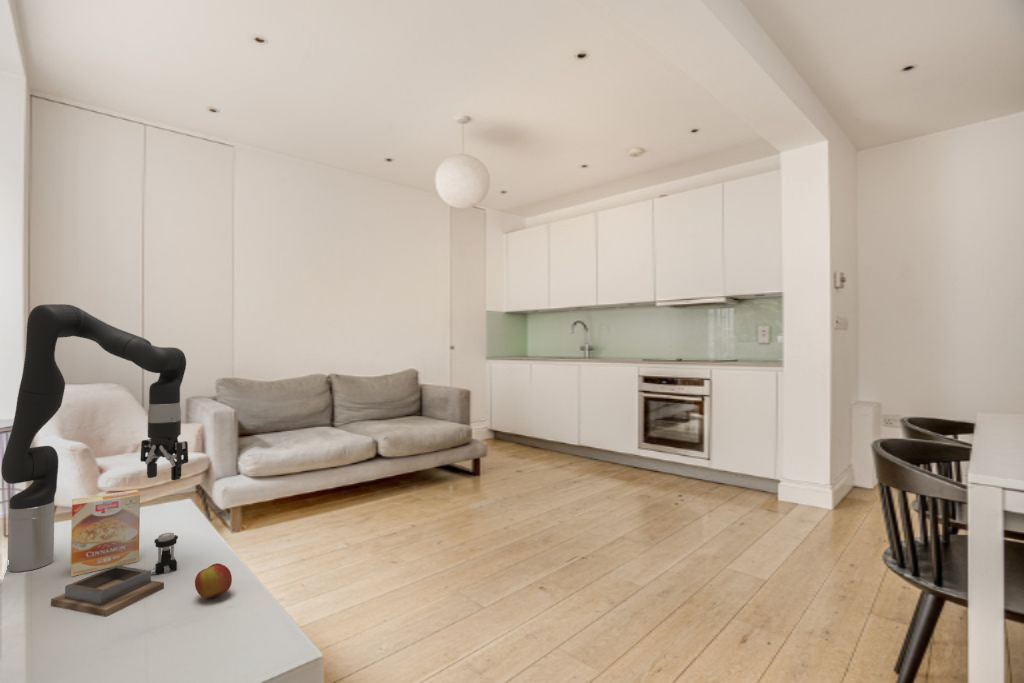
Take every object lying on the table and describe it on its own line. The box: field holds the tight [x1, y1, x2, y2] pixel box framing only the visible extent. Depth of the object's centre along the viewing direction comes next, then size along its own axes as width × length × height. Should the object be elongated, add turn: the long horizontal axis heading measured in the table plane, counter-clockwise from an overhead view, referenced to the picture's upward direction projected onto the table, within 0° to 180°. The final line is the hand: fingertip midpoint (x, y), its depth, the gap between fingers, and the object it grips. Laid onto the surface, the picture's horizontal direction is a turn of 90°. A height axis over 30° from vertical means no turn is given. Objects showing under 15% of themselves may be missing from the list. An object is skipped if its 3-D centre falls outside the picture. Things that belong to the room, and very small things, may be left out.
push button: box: [147, 532, 179, 576], centre depth 137 cm, size 7×5×10 cm
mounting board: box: [50, 579, 165, 617], centre depth 123 cm, size 18×14×2 cm
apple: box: [194, 563, 233, 599], centre depth 123 cm, size 8×8×8 cm
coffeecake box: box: [70, 489, 141, 578], centre depth 142 cm, size 15×7×20 cm, turn 131°
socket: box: [64, 565, 152, 606], centre depth 124 cm, size 12×12×3 cm
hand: (164, 478), depth 137 cm, fingers open, 8 cm apart
